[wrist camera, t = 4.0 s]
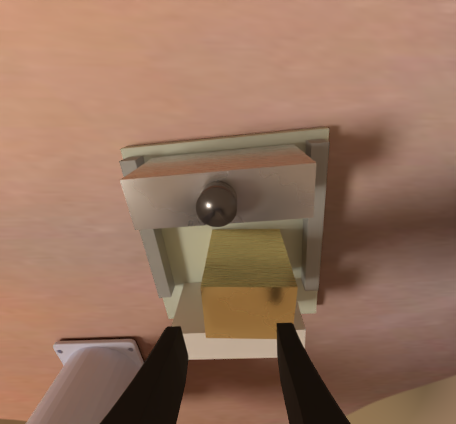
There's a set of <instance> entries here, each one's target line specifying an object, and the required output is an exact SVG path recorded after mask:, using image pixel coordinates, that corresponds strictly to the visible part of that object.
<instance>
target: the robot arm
mask: <svg viewBox="0 0 456 424" xmlns="http://www.w3.org/2000/svg"><path fill="white" fill-rule="evenodd" d="M276 324H277V357H278V365H279V373H280V381H281V386H282V391H283V395H284V400H285V405H286V410H287V414H288V419H289V424H350V422H349V421H348V419H347V418H346V416H345V415H344V413H343V412H342V410H341V409H340V407H339V406H338V404H337V403H336V401H335V400H334V398H333V397H332V395H331V393H330V392H329V390H328V389H327V387H326V385H325V384H324V382H323V381H322V379H321V377H320V375H319V374H318V372H317V370H316V369H315V367H314V365H313V363H312V362H311V360H310V358H309V356H308V354H307V352H306V350H305V348H304V347H303V345H302V343H301V340H300V338H299V336H298V334H297V332H296V329H295V327H294V324H292V323H276ZM53 348H54V350H55V352H56V353H57V355H58V357H59V358H60V360H61V362H62V363H63V365H64V366H63V368H62V369H61V371H60V372H59V374H58V375H57V377H56V378H55V380H54V381H53V383H52V385H51V386H50V388H49V389H48V391H47V392H46V394H45V395H44V397H43V398H42V400H41V401H40V403H39V404H38V406H37V407H36V409H35V410H34V412H33V413H32V415H31V416H30V418H29V419H28V421H27V423H26V424H176V422H177V418H178V413H179V409H180V405H181V400H182V396H183V391H184V387H185V381H186V374H187V366H188V358H189V356H188V352H187V348H186V345H185V341H184V337H183V333H182V329H181V326H174V327H167V328H166V329H165V330H164V332H163V333H162V335H161V337H160V338H159V340H158V342H157V343H156V345H155V347H154V348H153V350H152V351H151V353H150V354H149V356H148V357H147V359H146V361H145V362H143V359H142V357H141V354H140V351H139V349H138V346H137V344H136V342H135V340H133V339H109V340H77V341H57V342H55V344H54V345H53Z"/></svg>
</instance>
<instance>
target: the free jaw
mask: <svg viewBox="0 0 456 424" xmlns="http://www.w3.org/2000/svg"><path fill="white" fill-rule="evenodd" d="M315 179H316V162H315V161H314V160H312V159H311V158H310V157H309V156H307V155H306V154H305V153H304V152H303V151H301V150H300V149H299V148H298V147H297V146H295V145H294V144H287V145H276V146H266V147H255V148H245V149H234V150H223V151H213V152H202V153H192V154H181V155H170V156H160V157H153V158H152V159H150V160H149V161H147V162H146V163H144V164H143V165H141V166H140V167H138V168H137V169H135V170H134V171H132V172H131V173H129V174H128V175H127V176H125V177H124V178H122V179H121V180H120V182H121V185H122V189H123V192H124V195H125V199H126V202H127V205H128V209H129V212H130V215H131V219H132V222H133V225H134V229H135V230H144V229H159V228H173V227H188V226H202V225H209V226H212V227H222V226H225V225H227V224H231V223H245V222H259V221H274V220H288V219H303V218H313V216H314V197H315Z"/></svg>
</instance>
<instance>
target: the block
mask: <svg viewBox="0 0 456 424" xmlns="http://www.w3.org/2000/svg"><path fill="white" fill-rule="evenodd" d="M200 288H201V297H202V306H203V316H204V325H205V334H206V338H232V339H277V324H276V323H292V324H294V316H295V308H296V299H297V290H298V286H297V283H296V280H295V277H294V274H293V270H292V267H291V264H290V261H289V258H288V254H287V251H286V248H285V245H284V241H283V238H282V235H281V232H280V229H214V230H212V234H211V238H210V243H209V248H208V253H207V258H206V263H205V267H204V272H203V277H202V282H201V287H200Z"/></svg>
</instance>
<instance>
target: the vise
mask: <svg viewBox="0 0 456 424" xmlns="http://www.w3.org/2000/svg"><path fill="white" fill-rule="evenodd" d="M328 140H329V128H327V127H318V128H308V129H298V130H288V131H278V132H268V133H257V134H247V135H237V136H227V137H217V138H207V139H197V140H187V141H177V142H167V143H156V144H146V145H136V146H126V147H124V148H121V149H120V150H121V153H122V157H123V160H121V161H119V162H120V166H121V169H122V173H123V176H124V177H125V176H127V175H128V174H129V173H131V172H132V171H134V170H135V169H137V168H138V167H140V166H141V165H143V164H144V163H146V162H147V161H149V160H150V159H152V158H153V157H160V156H170V155H181V154H192V153H202V152H213V151H223V150H234V149H245V148H255V147H266V146H276V145H287V144H294V145H295V146H297V147H298V148H299V149H300V150H301V151H303V152H304V153H305V154H306V155H307V156H309V157H310V158H311V159H312V160H314V161H315V162H316V179H315V197H314V216H313V218H303V219H288V220H274V221H259V222H245V223H231V224H227V225H225V226H222V227H212V226H209V225H202V226H188V227H173V228H159V229H144V230H139V231H140V234H141V238H142V241H143V244H144V248H145V251H146V255H147V258H148V261H149V265H150V268H151V272H152V275H153V279H154V282H155V285H156V289H157V292H158V296H159V298H163V301H164V304H165V308H166V311H167V315H168V318H169V319H173V323H172V326H171V327H174V326H181V329H182V333H183V337H184V341H185V345H186V348H187V352H188V356H189V358H188V360H197V359H239V358H278V357H277V339H232V338H206V334H205V325H204V316H203V306H202V297H201V288H200V287H201V282H202V277H203V272H204V267H205V263H206V258H207V253H208V248H209V243H210V238H211V234H212V230H214V229H280V232H281V235H282V238H283V241H284V245H285V248H286V251H287V254H288V258H289V261H290V264H291V267H292V270H293V274H294V277H295V280H296V283H297V286H298V290H297V299H296V308H295V316H294V327H295V329H296V332H297V334H298V336H299V338H300V340H301V343H302V345H303V347H304V348H305V333H306V329H305V326H304V322H303V319H302V315H301V314H308V313H316V304H317V291H318V289H319V275H320V262H321V249H322V235H323V222H324V209H325V195H326V182H327V169H328V155H329V141H328Z"/></svg>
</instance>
